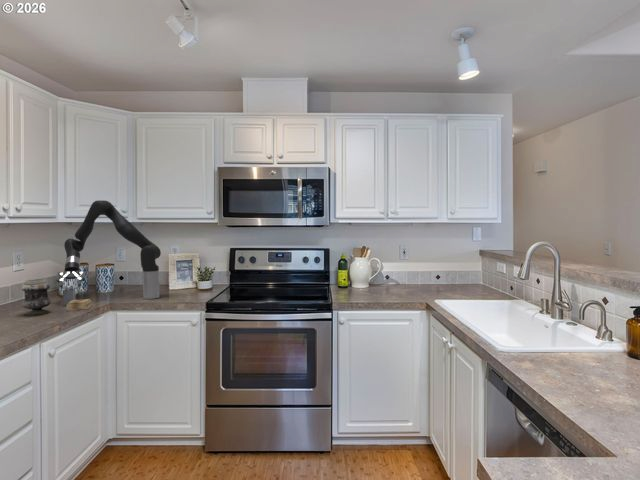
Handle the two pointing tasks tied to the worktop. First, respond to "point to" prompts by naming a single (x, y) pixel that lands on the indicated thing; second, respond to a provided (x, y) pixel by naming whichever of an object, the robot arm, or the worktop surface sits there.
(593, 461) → the worktop surface
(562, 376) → the worktop surface
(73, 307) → the tan flat rounded piece
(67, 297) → the housing
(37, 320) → the worktop surface
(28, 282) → the apothecary jar
